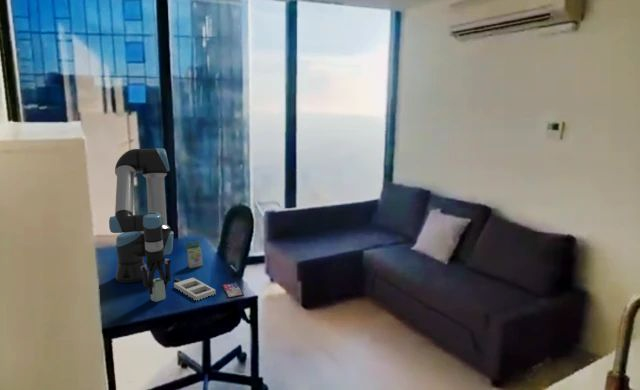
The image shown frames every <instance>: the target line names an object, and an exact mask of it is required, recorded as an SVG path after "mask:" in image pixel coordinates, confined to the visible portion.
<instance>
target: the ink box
mask: <svg viewBox="0 0 640 390" xmlns="http://www.w3.org/2000/svg"><path fill="white" fill-rule="evenodd" d="M192 244H193V245H192ZM202 253H203V252H202V247H200V240H195V241H190V242H186V256H187V257H186V258H187V267H188V268H189V269H195V268H199V267H203V264H204V263H203V254H202Z"/></svg>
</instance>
